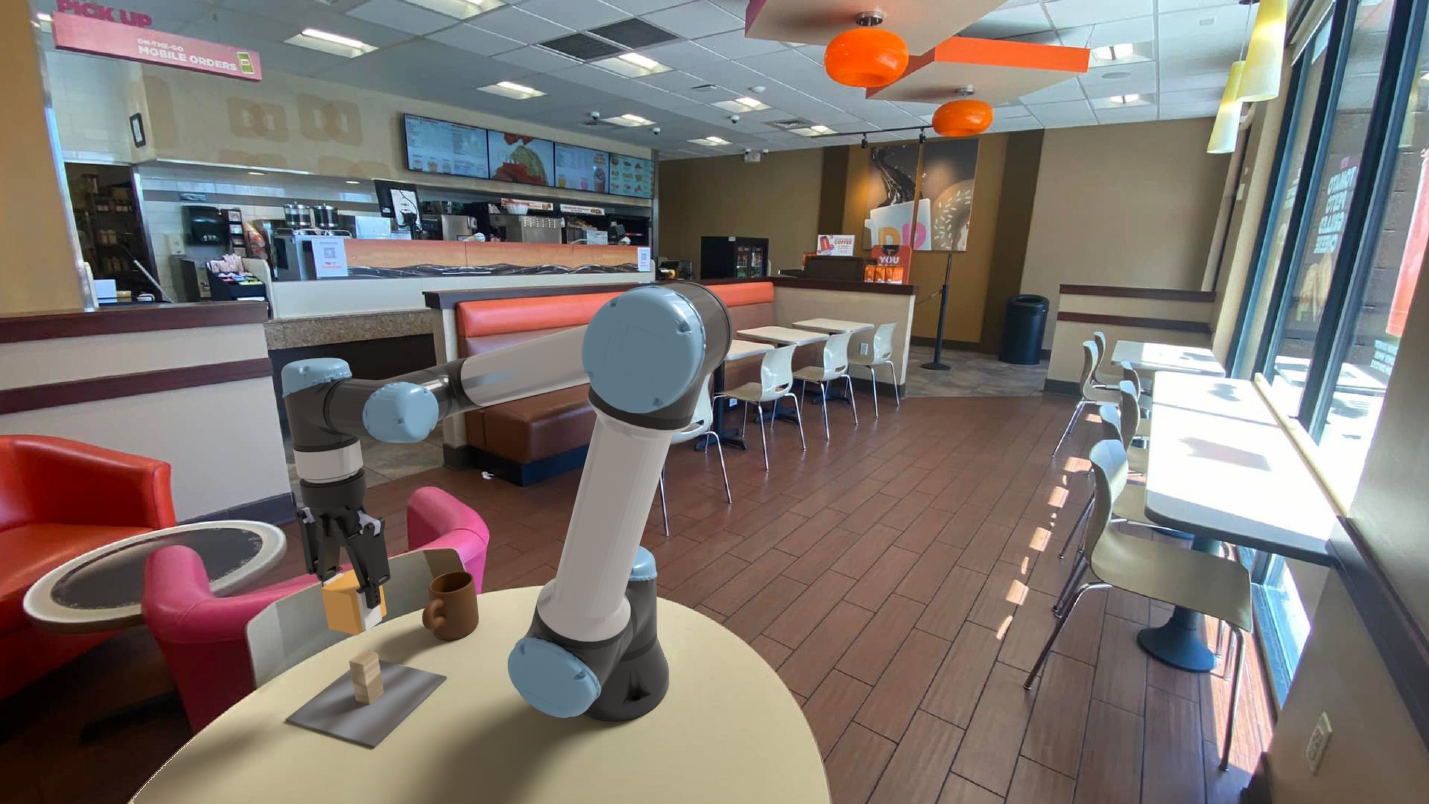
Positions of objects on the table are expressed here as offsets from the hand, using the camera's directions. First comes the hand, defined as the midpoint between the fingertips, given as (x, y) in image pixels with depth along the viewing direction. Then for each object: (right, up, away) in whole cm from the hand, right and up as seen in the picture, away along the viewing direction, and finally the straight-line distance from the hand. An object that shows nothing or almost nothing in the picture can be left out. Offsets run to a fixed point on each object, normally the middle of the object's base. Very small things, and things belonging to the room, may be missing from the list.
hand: (356, 621), depth 86 cm
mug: (+6, -9, +18) cm, 21 cm away
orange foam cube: (0, 0, 0) cm, 0 cm away
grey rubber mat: (0, -13, +3) cm, 13 cm away
